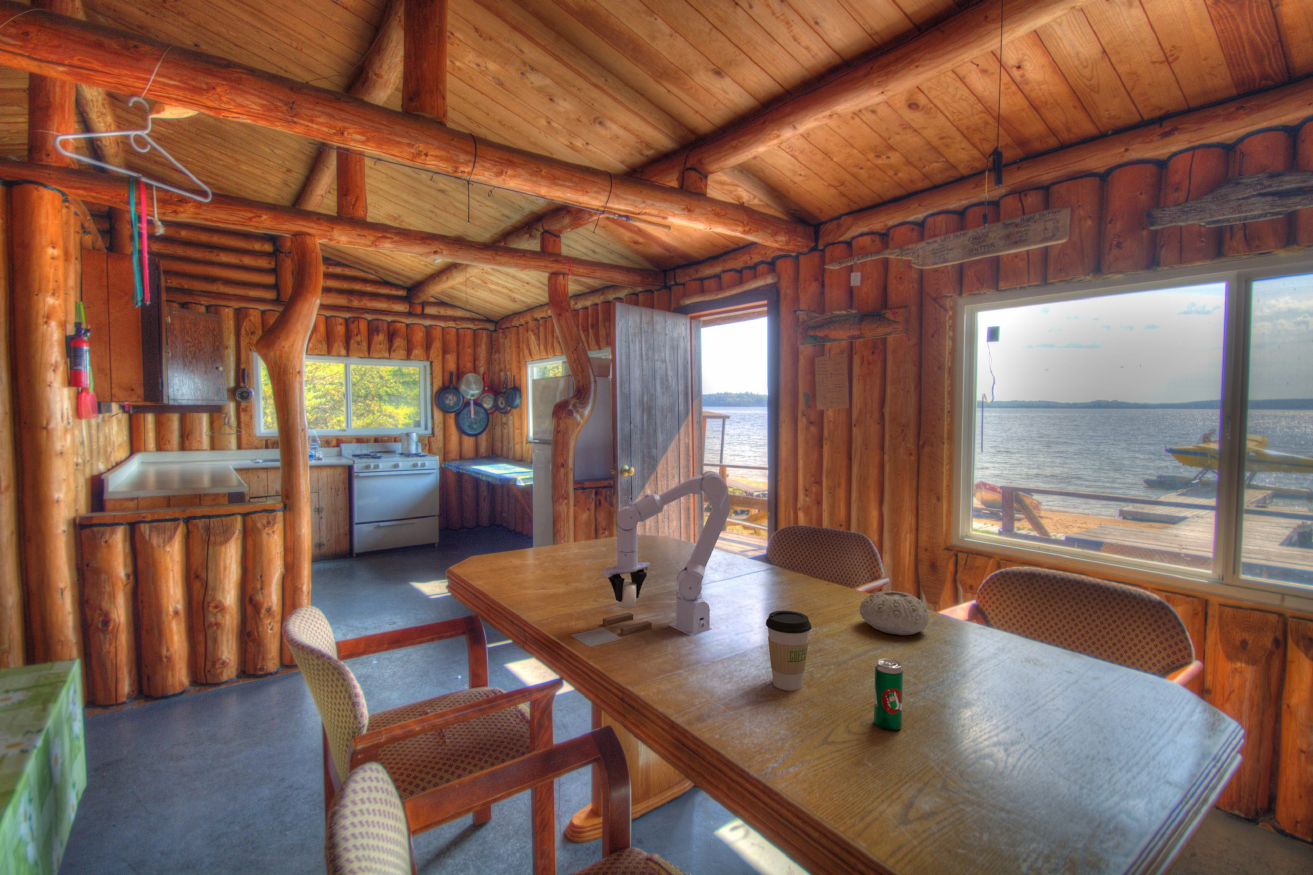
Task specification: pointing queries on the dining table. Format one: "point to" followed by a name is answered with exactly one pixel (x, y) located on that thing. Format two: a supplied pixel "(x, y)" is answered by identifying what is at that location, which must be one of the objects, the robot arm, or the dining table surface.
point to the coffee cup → (788, 648)
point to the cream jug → (628, 595)
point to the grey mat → (596, 637)
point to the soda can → (888, 694)
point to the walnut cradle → (626, 624)
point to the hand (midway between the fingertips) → (627, 599)
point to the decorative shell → (894, 612)
